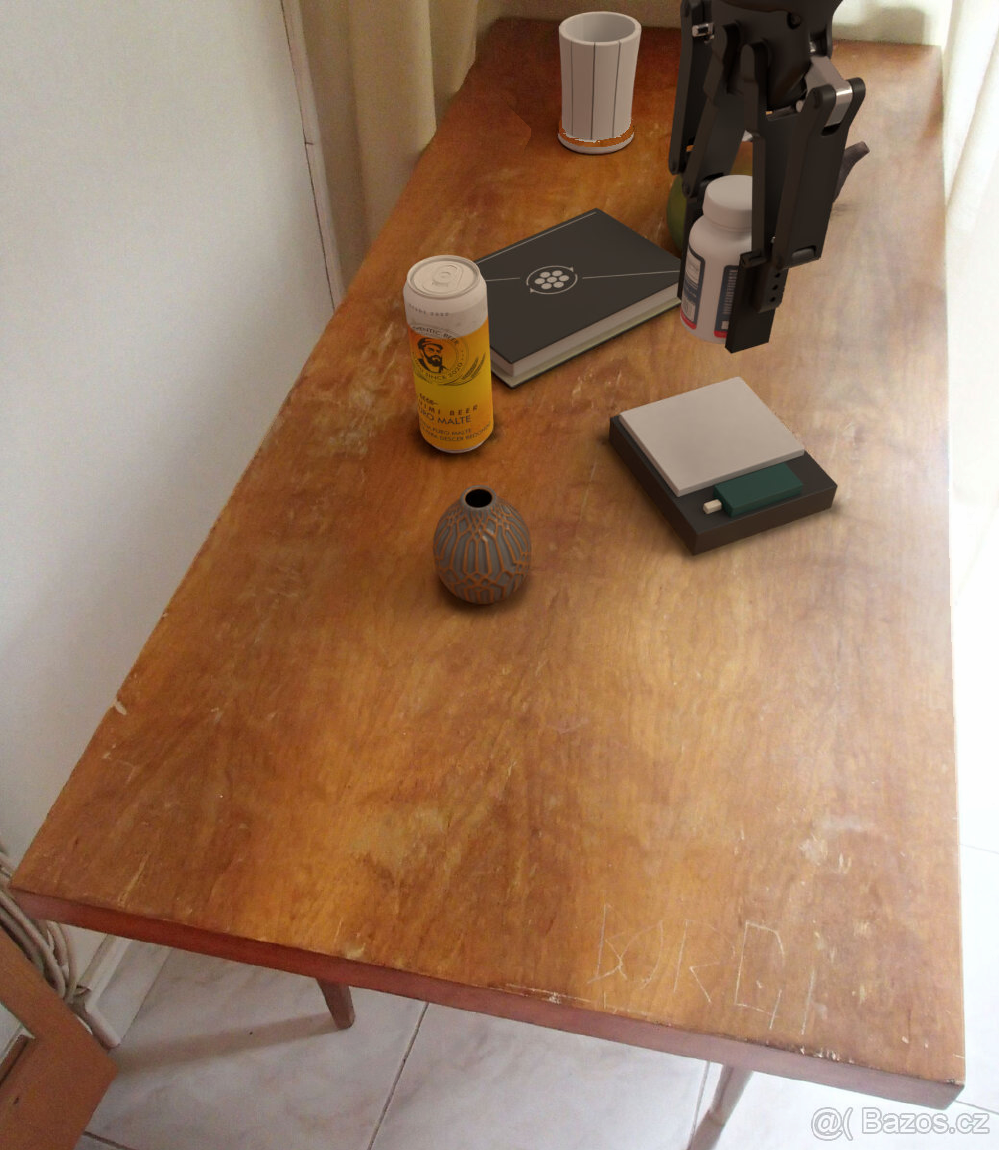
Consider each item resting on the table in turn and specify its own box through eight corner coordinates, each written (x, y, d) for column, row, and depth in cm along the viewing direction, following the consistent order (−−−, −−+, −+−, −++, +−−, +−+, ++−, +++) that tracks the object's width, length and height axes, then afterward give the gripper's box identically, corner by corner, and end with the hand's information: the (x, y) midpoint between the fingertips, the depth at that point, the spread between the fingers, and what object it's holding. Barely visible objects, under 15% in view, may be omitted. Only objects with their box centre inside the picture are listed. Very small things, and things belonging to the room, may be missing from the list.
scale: (831, 507, 76) (841, 475, 73) (693, 556, 73) (698, 524, 70) (734, 399, 84) (740, 367, 81) (608, 439, 81) (610, 407, 79)
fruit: (783, 225, 101) (803, 128, 94) (777, 294, 94) (798, 195, 86) (670, 214, 103) (680, 119, 96) (654, 281, 96) (664, 183, 88)
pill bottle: (775, 313, 64) (803, 183, 57) (741, 356, 61) (766, 225, 54) (701, 289, 66) (719, 160, 59) (664, 330, 63) (679, 200, 56)
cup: (537, 124, 117) (537, 16, 108) (605, 107, 120) (610, -1, 110) (579, 163, 111) (582, 51, 102) (649, 144, 113) (659, 33, 104)
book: (593, 232, 102) (595, 205, 99) (694, 298, 94) (698, 270, 91) (418, 311, 94) (414, 284, 91) (511, 390, 86) (510, 362, 84)
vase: (533, 618, 70) (532, 534, 63) (435, 620, 70) (424, 537, 63) (530, 545, 74) (529, 459, 67) (438, 547, 74) (428, 462, 68)
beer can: (410, 449, 81) (388, 292, 70) (436, 403, 85) (419, 246, 74) (479, 463, 80) (469, 305, 69) (503, 416, 84) (496, 258, 72)
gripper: (626, -146, 50) (604, 260, 68) (841, -26, 39) (747, 421, 57) (753, -168, 52) (699, 234, 70) (994, -59, 41) (857, 386, 58)
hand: (721, 318), depth 63 cm, fingers closed on pill bottle, 5 cm apart
